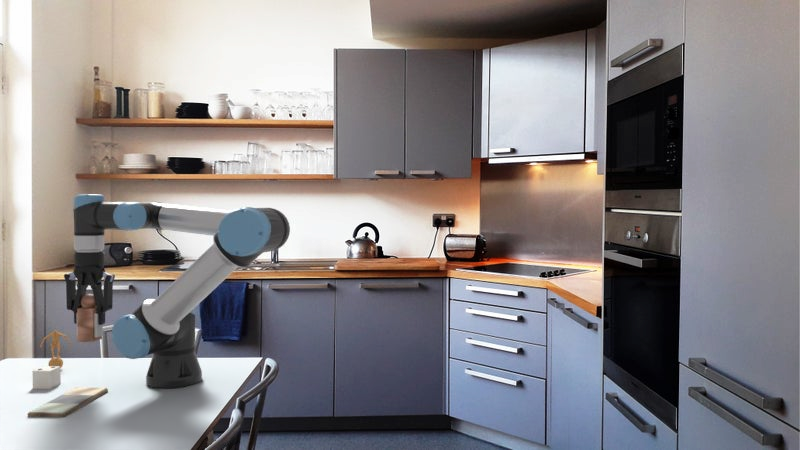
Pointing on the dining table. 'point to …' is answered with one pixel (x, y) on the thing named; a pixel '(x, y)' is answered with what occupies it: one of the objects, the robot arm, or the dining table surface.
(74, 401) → the board
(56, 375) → the die
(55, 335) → the figurine
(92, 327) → the pawn
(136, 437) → the dining table surface
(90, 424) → the dining table surface
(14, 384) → the dining table surface
